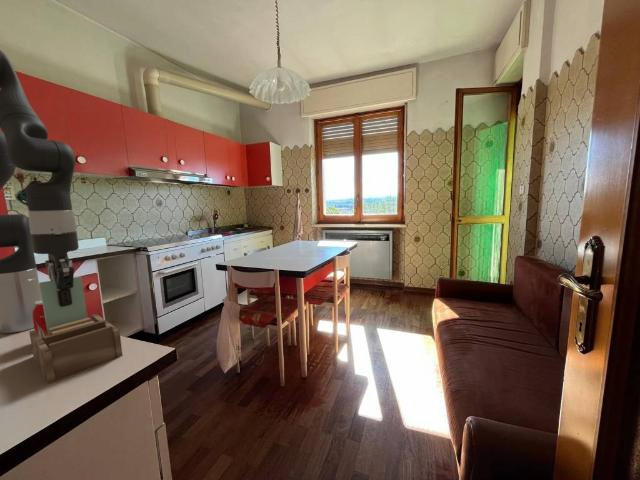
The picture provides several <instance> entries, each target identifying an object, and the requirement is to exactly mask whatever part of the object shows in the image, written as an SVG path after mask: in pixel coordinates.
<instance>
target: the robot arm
mask: <svg viewBox="0 0 640 480" xmlns="http://www.w3.org/2000/svg"><path fill="white" fill-rule="evenodd" d="M48 138H49V132H48V129H47V127H46V125H45V124H44V122H43V121H42V119H41V118H40V117H39V116H38V114H37V113H36V111H35V110H34V109H33V107H32V106H31V104H30V102H29V100H28V98H27V94H26V93H25V90H24V88H23V86H22V83H21V81H20V79H19V77H18V75H17V72H16V70H15V68H14V66H13V64H12V62H11V60H10V58H9V57H8V56H7V55H6V53H4V52H3V50H0V191H1V190H2V189H3V188H4V187H5V186H6V184H7V183H8V182H9V181H10V179H11V178H12V177H13V175H14V174H15V171H16V168H18V169H20V170H22V171H27V172H38V173H51V176H50V179H49V180H47V181H45V182H42V181H41V182H35V183H30V184H28V185H27V186H26V187H25V196H26V201H27V208H28V216H27V215H25V214H19V213H18V214H17V213H16V214H15V213H14V214H0V249H1V248H13V247H17V250H16V251H14V252H12V254H9V255H7V256H5V257H2V258H0V334H13V333H18V332H24V331H27V330H30V329H34V324H33V317H32V309H33V307H34V306H35V304H34V303H35V302H36V301H38V300H41V299H42V297H41V291H40V286H39V283H40V281H39V276H38V275H39V274H38V270H37V263H36V256H35V254H36V255H48V257H47V258H48V260H45V261H44V262H45V263H44V264H45V267H46V268H47V272H48V273H47V274H48V279H50V280H49V281H54V282H55V285H56V288H55V289H56V290H57V294H58V301H59V306H60V307H64V306H68V305H71V304H72V297H71V290H70V289H71V288H73V286H74V285H73V277H75V273H74V272H75V268H74V266H73V260H72V259H71V258H69V255H68V253H69V252H73V251H77V250H78V249H79V248H80V247H79V241H78V240H79V239H78V232H77V224H76V223H77V222H76V219H75V216H74V212H73V205H72V200H71V199H72V198H71V188H72V181H73V177H74V172H75V168H76V164H77V159H76V158H77V157H76V155H75V152H74V150H73V148H72V147H71V146H70V145H68V144H67V143H65V142H62V141H59V140H58V141H57V140H53V139H48ZM63 282H67V283H65V284H62V283H63Z"/></svg>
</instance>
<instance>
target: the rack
mask: <svg viewBox="0 0 640 480" xmlns="http://www.w3.org/2000/svg"><path fill="white" fill-rule="evenodd" d="M91 321H94V322H95V323H92V324H89V325H85V326H82V327H78V328H75V329H71V330H68V331H64V332H60V333H57V334H53V335H50V336H48V335H46V336H43V337H40V335H39V334H38V332H37V331H36V330H34V329H33V330H29V331H28V332H29V338H30V343H31V350H32V357H33V359H34V361H35V362H36V364H37V366H38V368H39V369H40V371H41V373H42V375H43V376H44V379H45V380H46V382H47V384H48V385H50V384H52V383H55V382H58V381H60V380H62V379H64V378H67V377H71V376H73V375H76V374H79V373H82V372H83V371H86V370H89V369H91V368H94V367H96V366H99V365H102V364H105V363H107V362H109V361H110V362H111V360H115V359H117V358H120V357H123V356H124V355H123V349H122V348H123V347H122V339H121V332H120V329H118V328H117V327H116V326H115V325H113V324H112V323H110V322H109V321H107V319H105V318H103V317H102V316H101V315H98V314H97V313H94V314H91Z"/></svg>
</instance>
